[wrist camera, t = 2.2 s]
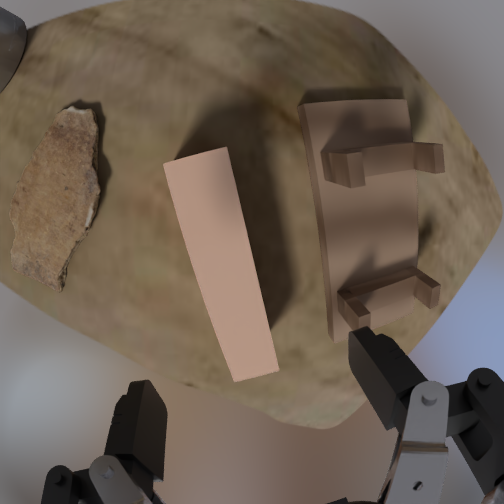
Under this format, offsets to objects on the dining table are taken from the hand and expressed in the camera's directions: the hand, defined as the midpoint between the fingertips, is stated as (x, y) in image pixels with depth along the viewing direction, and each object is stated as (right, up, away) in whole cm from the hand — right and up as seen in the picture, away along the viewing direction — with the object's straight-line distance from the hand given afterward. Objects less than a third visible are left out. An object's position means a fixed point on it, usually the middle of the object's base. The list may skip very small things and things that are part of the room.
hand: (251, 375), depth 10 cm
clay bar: (-2, +4, +12) cm, 13 cm away
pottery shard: (-15, +9, +8) cm, 19 cm away
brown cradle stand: (+10, +7, +12) cm, 17 cm away
